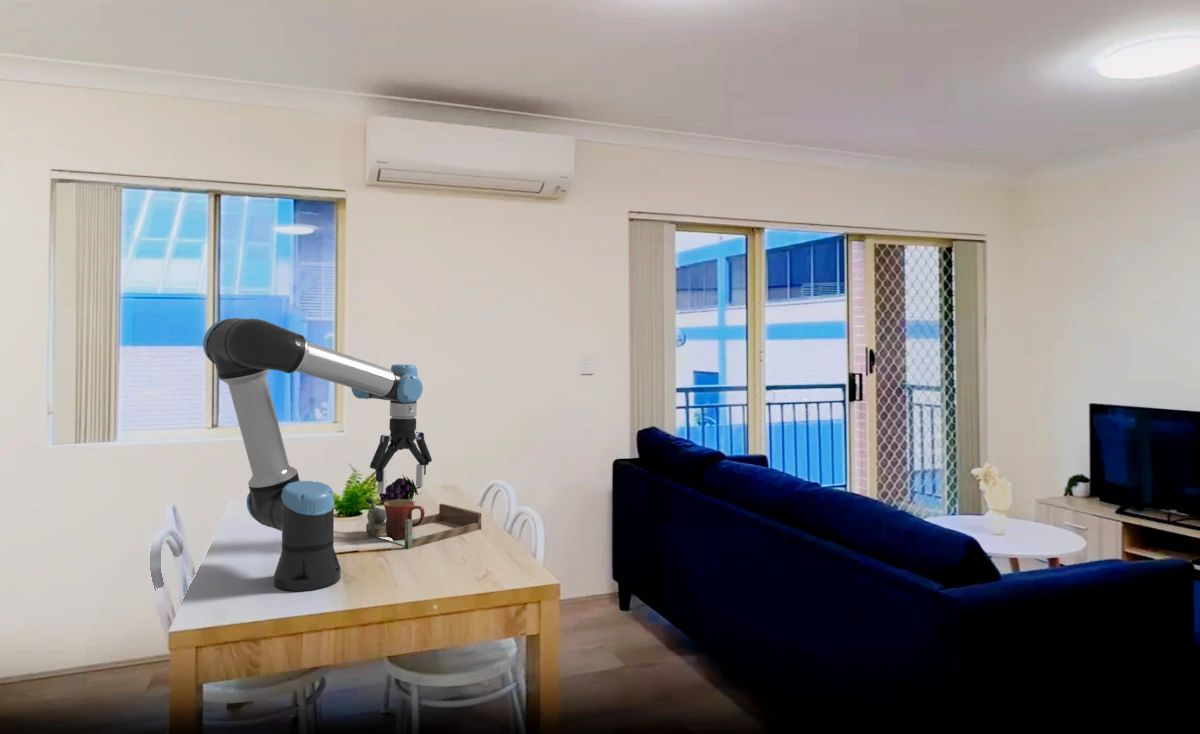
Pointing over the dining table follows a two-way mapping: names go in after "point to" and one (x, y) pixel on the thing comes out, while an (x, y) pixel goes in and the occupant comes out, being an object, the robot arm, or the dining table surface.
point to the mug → (400, 517)
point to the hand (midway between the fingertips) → (401, 489)
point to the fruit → (400, 490)
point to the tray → (446, 513)
